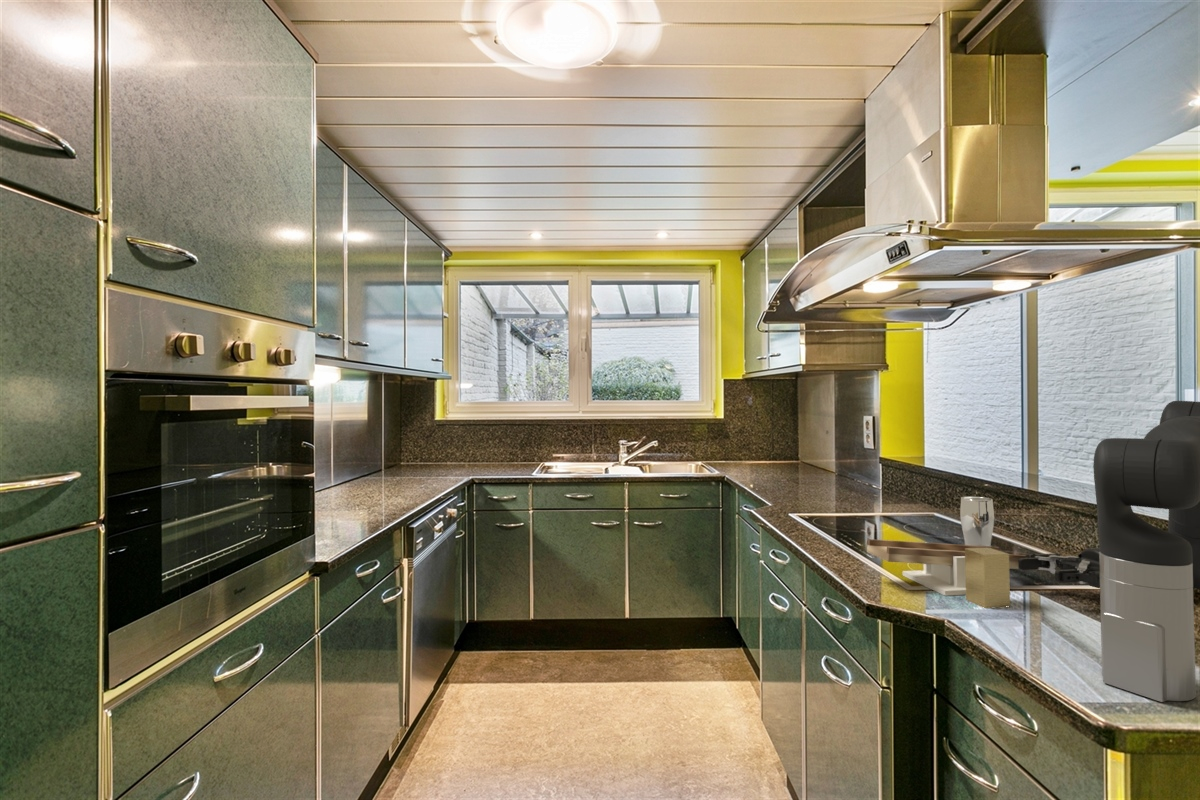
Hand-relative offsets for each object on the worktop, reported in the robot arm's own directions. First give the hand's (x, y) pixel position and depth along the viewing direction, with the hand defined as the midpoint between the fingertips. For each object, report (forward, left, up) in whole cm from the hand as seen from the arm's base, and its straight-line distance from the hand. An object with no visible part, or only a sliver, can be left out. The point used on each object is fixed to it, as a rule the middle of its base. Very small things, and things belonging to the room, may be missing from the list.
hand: (1037, 570), depth 112 cm
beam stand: (-5, +15, -6) cm, 17 cm away
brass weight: (-10, +4, -6) cm, 12 cm away
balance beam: (-5, +15, -1) cm, 16 cm away
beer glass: (+21, +23, -6) cm, 32 cm away
